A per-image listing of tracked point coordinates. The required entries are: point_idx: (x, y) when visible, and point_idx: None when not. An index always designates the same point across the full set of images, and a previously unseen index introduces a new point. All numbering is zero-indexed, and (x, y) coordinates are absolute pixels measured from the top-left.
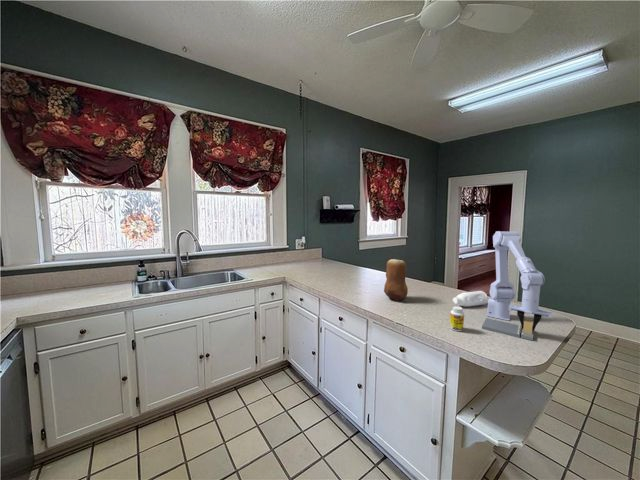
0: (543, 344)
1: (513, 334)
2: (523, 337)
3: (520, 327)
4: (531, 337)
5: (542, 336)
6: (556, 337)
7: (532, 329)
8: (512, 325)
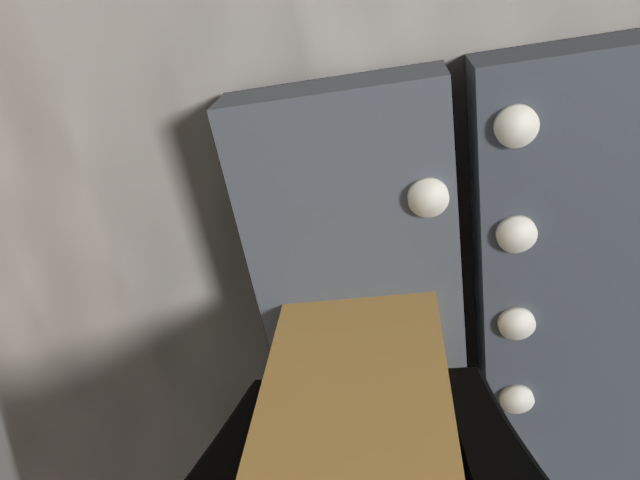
0: (48, 77)
1: (616, 41)
2: (393, 70)
3: None
4: (236, 108)
5: (186, 404)
6: (65, 476)
7: None
8: (635, 477)
